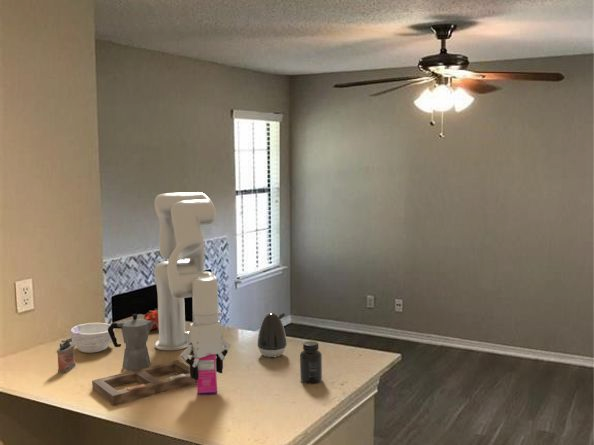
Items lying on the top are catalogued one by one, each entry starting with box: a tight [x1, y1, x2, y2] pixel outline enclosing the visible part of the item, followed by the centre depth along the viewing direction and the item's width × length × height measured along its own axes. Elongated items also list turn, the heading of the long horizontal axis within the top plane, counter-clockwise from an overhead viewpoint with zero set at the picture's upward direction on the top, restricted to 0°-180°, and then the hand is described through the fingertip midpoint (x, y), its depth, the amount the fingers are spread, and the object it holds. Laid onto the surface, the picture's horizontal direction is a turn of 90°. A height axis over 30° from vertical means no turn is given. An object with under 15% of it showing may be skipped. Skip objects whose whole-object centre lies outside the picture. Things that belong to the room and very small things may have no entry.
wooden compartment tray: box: [91, 359, 197, 407], centre depth 201 cm, size 29×16×3 cm, turn 129°
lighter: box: [56, 337, 76, 374], centre depth 216 cm, size 8×3×10 cm, turn 168°
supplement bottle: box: [299, 340, 323, 384], centre depth 205 cm, size 7×7×12 cm
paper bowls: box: [70, 322, 115, 354], centre depth 237 cm, size 15×15×8 cm
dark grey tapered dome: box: [257, 312, 287, 358], centre depth 229 cm, size 10×10×15 cm
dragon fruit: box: [143, 308, 159, 331], centre depth 262 cm, size 8×8×12 cm
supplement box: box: [196, 355, 218, 396], centre depth 196 cm, size 6×6×12 cm
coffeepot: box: [108, 313, 155, 372], centre depth 217 cm, size 15×9×18 cm, turn 110°
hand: (206, 375), depth 196 cm, fingers closed on supplement box, 7 cm apart
